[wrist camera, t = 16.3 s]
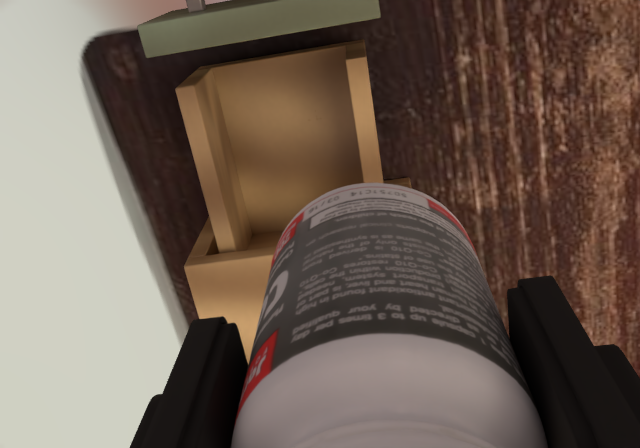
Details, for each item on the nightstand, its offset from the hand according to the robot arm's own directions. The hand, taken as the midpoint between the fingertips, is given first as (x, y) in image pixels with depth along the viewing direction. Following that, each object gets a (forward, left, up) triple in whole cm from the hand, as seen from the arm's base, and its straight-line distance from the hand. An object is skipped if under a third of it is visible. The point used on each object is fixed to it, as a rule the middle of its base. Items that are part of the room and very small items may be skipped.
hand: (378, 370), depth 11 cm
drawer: (-2, -3, -19) cm, 19 cm away
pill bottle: (0, 0, -4) cm, 4 cm away
